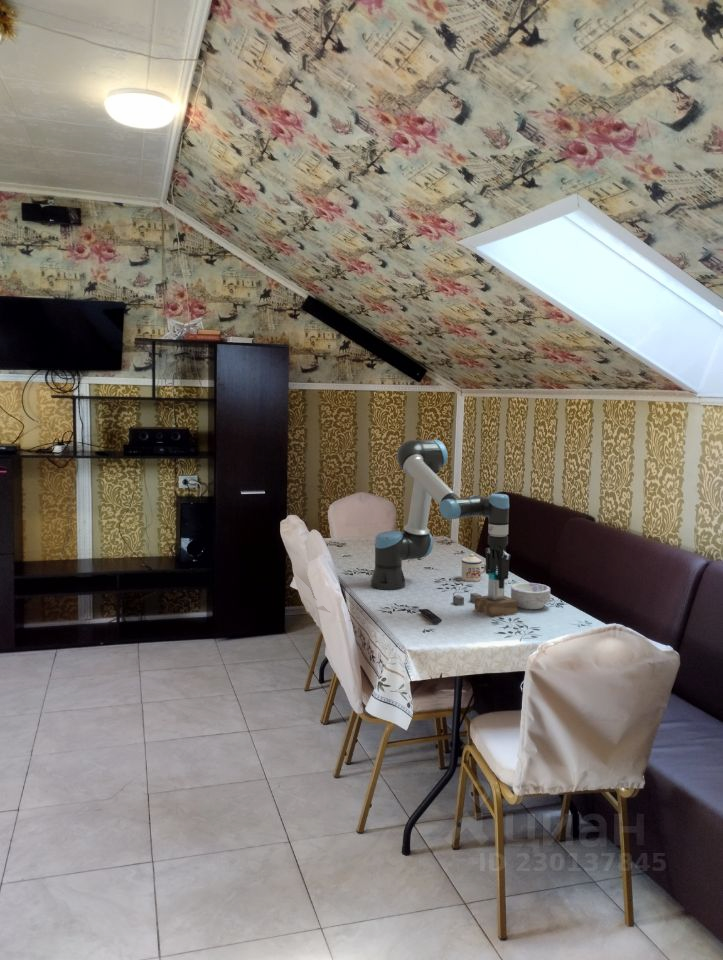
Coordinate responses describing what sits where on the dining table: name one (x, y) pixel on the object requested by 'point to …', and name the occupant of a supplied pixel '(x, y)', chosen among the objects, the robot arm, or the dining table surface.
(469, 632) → the dining table surface
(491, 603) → the port
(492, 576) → the plug
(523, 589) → the white floral bowl
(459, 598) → the pair of grey prisms
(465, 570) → the teacup with lid
